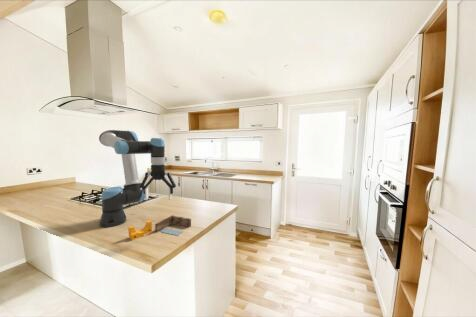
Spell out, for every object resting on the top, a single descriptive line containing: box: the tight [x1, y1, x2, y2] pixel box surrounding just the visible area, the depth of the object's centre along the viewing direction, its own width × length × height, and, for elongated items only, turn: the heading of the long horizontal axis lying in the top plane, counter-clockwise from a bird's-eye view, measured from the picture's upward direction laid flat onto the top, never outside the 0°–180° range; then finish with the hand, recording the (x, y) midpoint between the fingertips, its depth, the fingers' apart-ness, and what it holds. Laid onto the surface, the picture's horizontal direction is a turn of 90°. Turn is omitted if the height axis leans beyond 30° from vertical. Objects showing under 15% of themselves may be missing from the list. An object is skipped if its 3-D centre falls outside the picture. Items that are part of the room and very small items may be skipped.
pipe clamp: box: [127, 220, 153, 241], centre depth 109 cm, size 12×4×6 cm, turn 142°
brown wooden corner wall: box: [154, 215, 192, 233], centre depth 117 cm, size 15×15×5 cm
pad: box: [159, 227, 183, 236], centre depth 113 cm, size 13×5×1 cm, turn 68°
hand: (158, 199), depth 112 cm, fingers open, 13 cm apart
